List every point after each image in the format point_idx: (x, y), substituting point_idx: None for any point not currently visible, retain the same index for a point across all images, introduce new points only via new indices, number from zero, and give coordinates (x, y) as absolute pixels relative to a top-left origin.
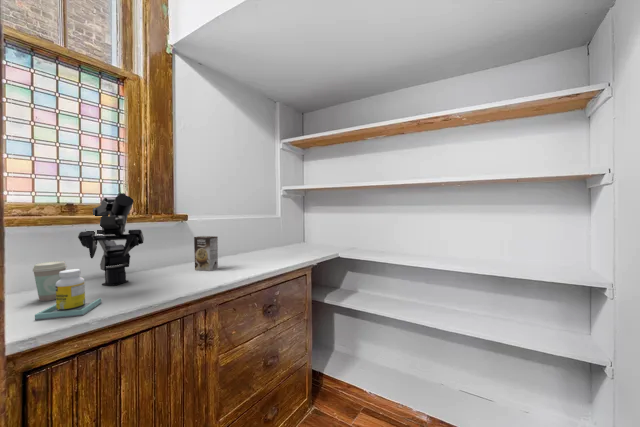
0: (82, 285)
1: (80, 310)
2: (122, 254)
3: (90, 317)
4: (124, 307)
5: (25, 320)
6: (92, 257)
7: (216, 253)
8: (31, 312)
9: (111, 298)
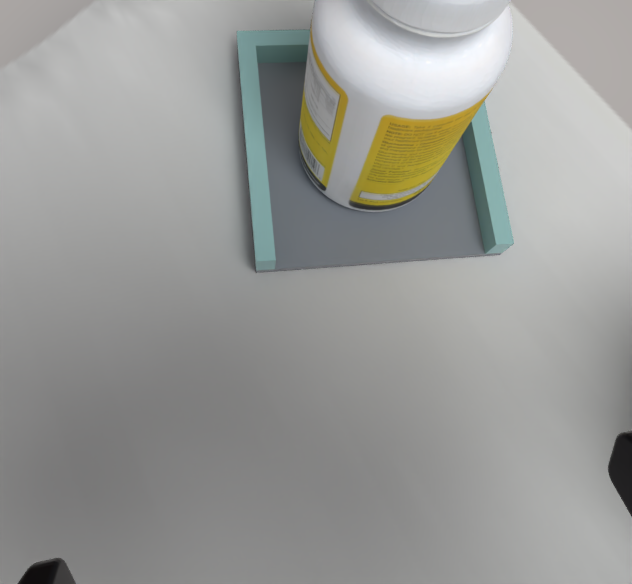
0: (309, 37)
1: (248, 32)
2: (57, 559)
3: (175, 13)
4: (40, 132)
5: None
6: (618, 474)
7: None
8: (589, 183)
9: (235, 374)
